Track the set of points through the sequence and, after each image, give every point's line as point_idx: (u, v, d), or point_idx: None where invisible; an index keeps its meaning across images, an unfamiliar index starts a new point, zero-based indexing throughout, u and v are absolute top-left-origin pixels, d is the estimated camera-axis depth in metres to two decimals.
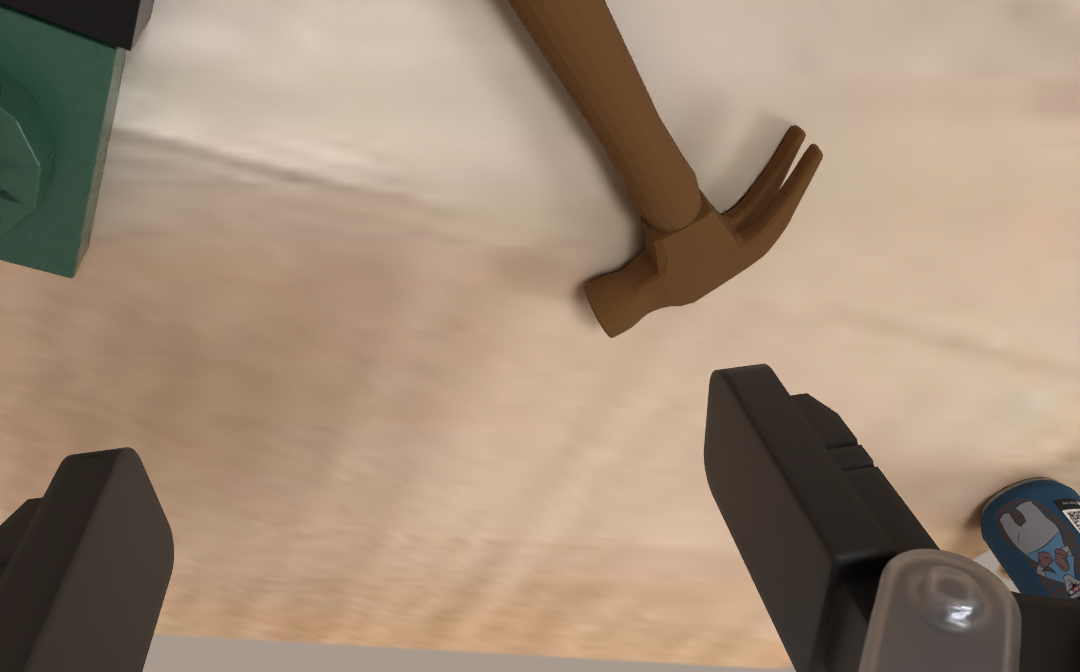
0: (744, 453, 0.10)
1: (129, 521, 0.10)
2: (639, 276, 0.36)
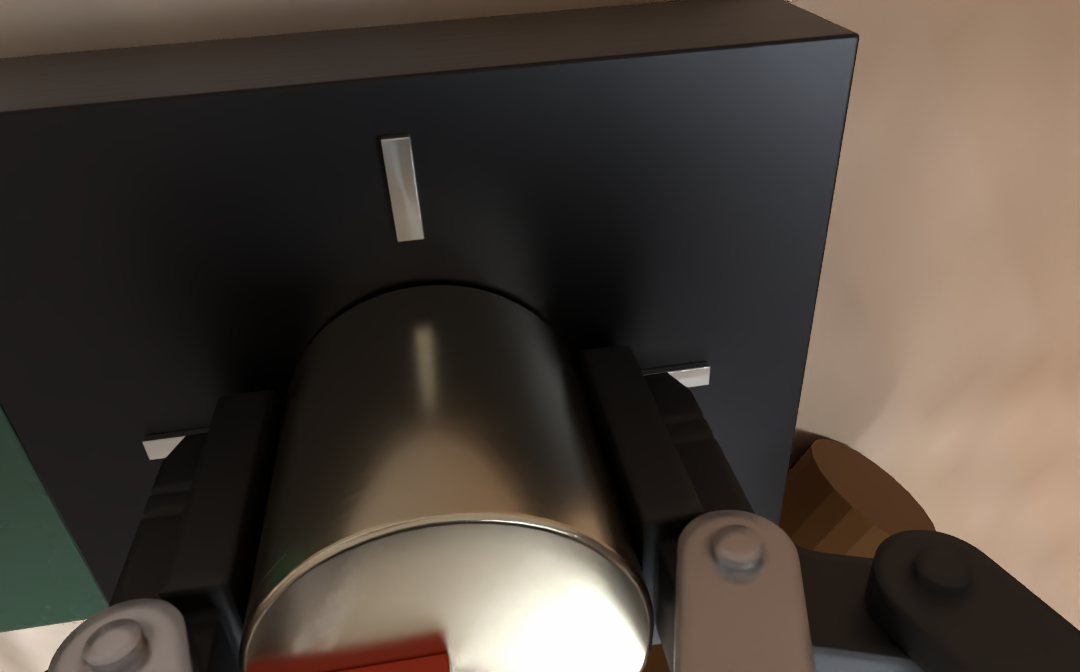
0: (599, 427, 0.11)
1: None
2: None
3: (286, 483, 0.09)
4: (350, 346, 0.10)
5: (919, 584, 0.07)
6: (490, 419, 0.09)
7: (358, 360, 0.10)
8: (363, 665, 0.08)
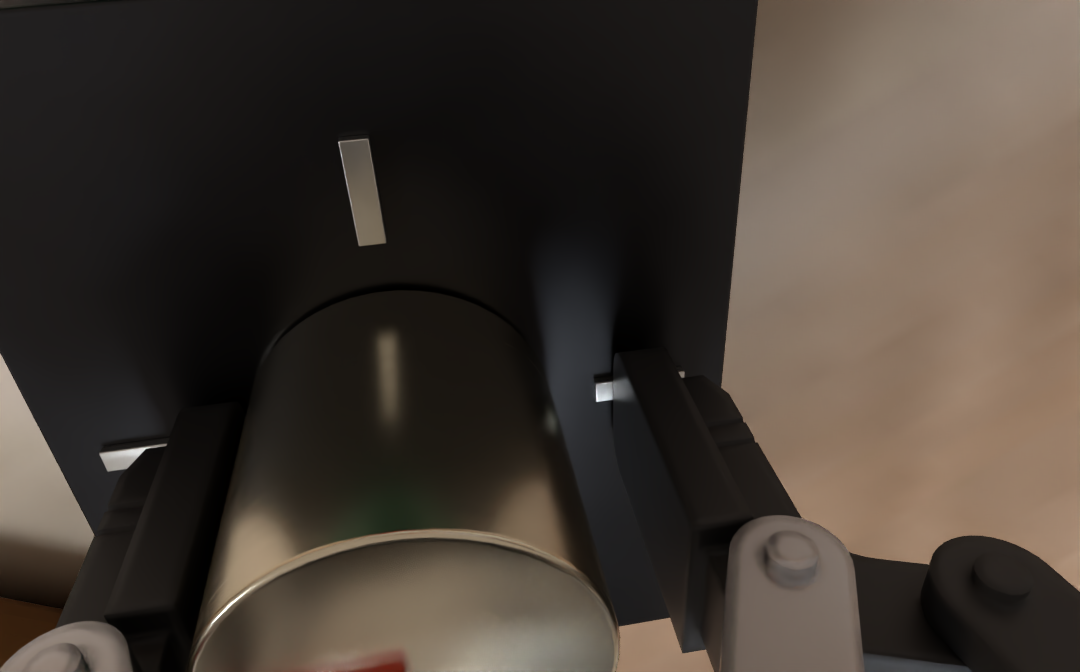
0: (636, 431, 0.11)
1: None
2: None
3: (233, 504, 0.08)
4: (303, 357, 0.10)
5: (979, 591, 0.07)
6: (440, 429, 0.08)
7: (309, 373, 0.09)
8: None
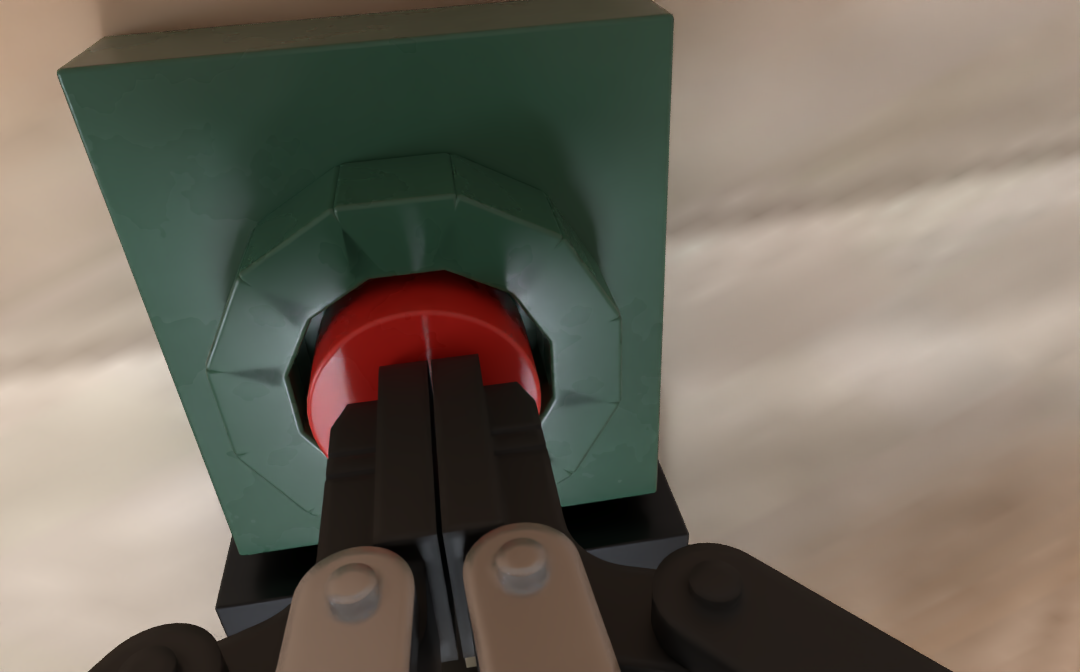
0: None
1: (435, 424, 0.11)
2: None
3: None
4: None
5: (690, 598, 0.07)
6: None
7: None
8: None
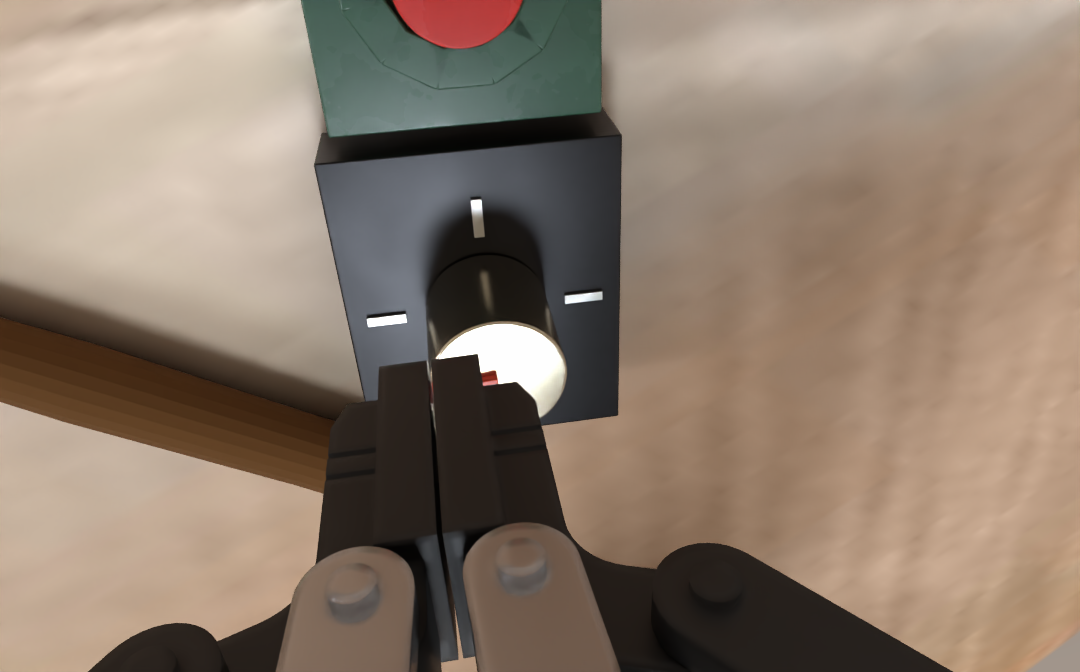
0: None
1: (434, 423, 0.11)
2: None
3: (439, 323, 0.25)
4: (454, 278, 0.27)
5: (690, 598, 0.07)
6: (508, 298, 0.25)
7: (459, 282, 0.26)
8: None
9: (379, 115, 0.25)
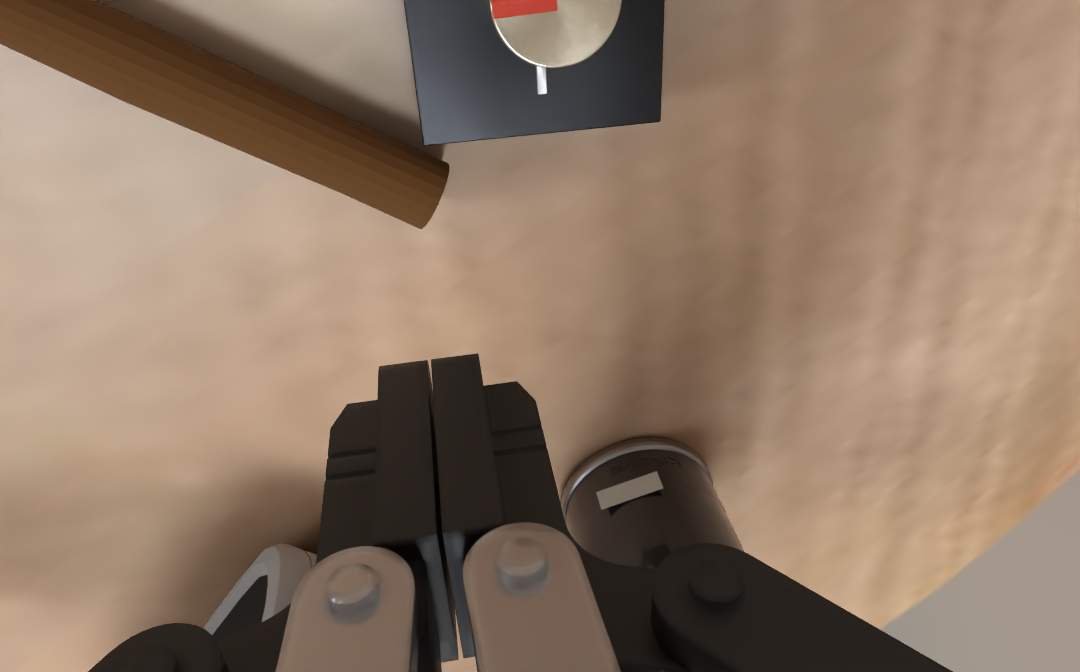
0: None
1: (434, 424, 0.11)
2: None
3: None
4: None
5: (690, 598, 0.07)
6: None
7: None
8: None
9: None
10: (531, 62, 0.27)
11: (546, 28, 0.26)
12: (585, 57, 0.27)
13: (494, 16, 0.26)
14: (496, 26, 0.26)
